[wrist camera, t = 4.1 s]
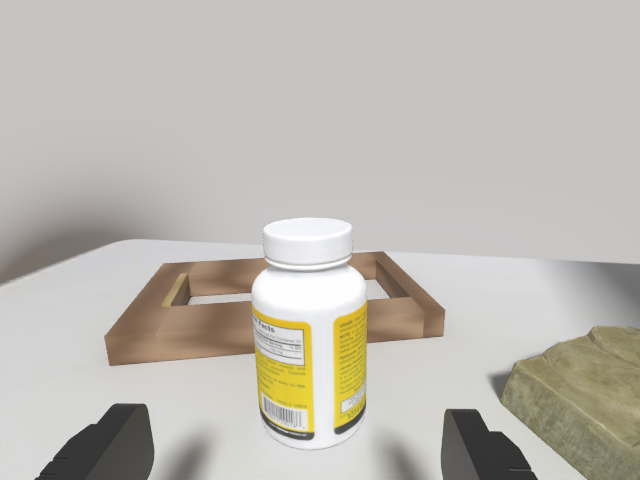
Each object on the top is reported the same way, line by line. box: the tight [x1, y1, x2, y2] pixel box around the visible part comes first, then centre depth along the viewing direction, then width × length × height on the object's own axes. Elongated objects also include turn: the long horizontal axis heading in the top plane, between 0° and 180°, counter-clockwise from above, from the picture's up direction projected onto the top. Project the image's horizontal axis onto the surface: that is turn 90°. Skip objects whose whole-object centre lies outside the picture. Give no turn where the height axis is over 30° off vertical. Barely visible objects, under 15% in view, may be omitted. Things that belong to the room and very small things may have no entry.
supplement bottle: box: [251, 218, 367, 450], centre depth 18 cm, size 5×5×10 cm
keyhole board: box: [104, 252, 445, 366], centre depth 31 cm, size 22×14×2 cm, turn 98°
